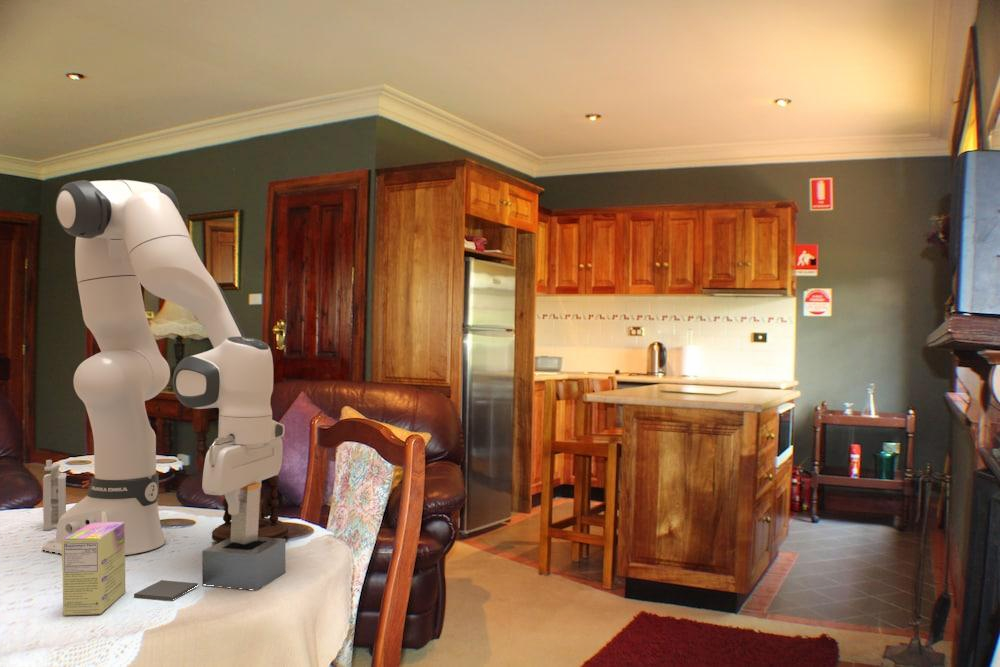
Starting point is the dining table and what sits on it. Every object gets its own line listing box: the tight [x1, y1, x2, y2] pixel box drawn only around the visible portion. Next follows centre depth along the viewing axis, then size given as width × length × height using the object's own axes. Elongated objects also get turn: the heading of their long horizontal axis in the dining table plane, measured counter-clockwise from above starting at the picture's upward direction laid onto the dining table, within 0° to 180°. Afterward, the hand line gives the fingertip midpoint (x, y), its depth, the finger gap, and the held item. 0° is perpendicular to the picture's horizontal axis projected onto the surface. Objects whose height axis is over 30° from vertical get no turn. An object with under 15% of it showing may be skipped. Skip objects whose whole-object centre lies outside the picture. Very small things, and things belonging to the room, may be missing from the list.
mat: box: [133, 579, 199, 601], centre depth 133 cm, size 7×7×1 cm
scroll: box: [211, 475, 289, 544], centre depth 163 cm, size 15×15×20 cm
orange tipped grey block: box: [230, 483, 261, 544], centre depth 140 cm, size 3×3×10 cm
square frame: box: [201, 537, 286, 591], centre depth 140 cm, size 10×10×6 cm
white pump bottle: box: [42, 459, 67, 531], centre depth 176 cm, size 4×10×15 cm, turn 25°
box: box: [61, 522, 126, 617], centre depth 127 cm, size 10×6×12 cm, turn 5°
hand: (242, 510), depth 140 cm, fingers closed on orange tipped grey block, 3 cm apart
